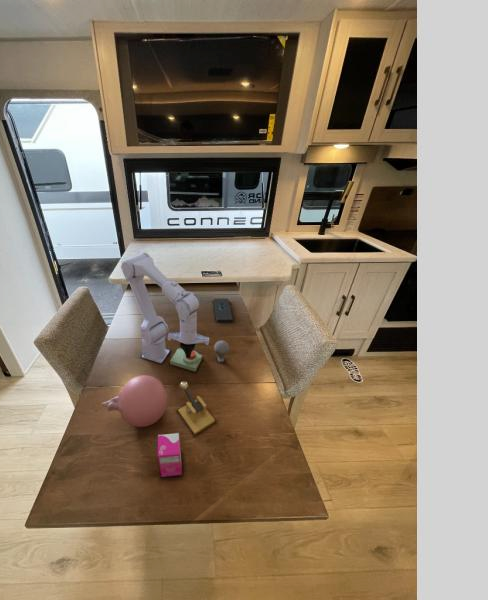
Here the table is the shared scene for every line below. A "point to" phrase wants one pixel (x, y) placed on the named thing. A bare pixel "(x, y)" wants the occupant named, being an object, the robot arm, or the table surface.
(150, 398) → the balloon
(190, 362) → the button block
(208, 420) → the switch bracket
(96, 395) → the table surface
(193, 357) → the button
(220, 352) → the light bulb
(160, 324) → the robot arm
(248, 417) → the table surface
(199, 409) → the lever
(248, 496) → the table surface
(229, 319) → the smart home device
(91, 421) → the table surface
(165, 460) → the supplement box
